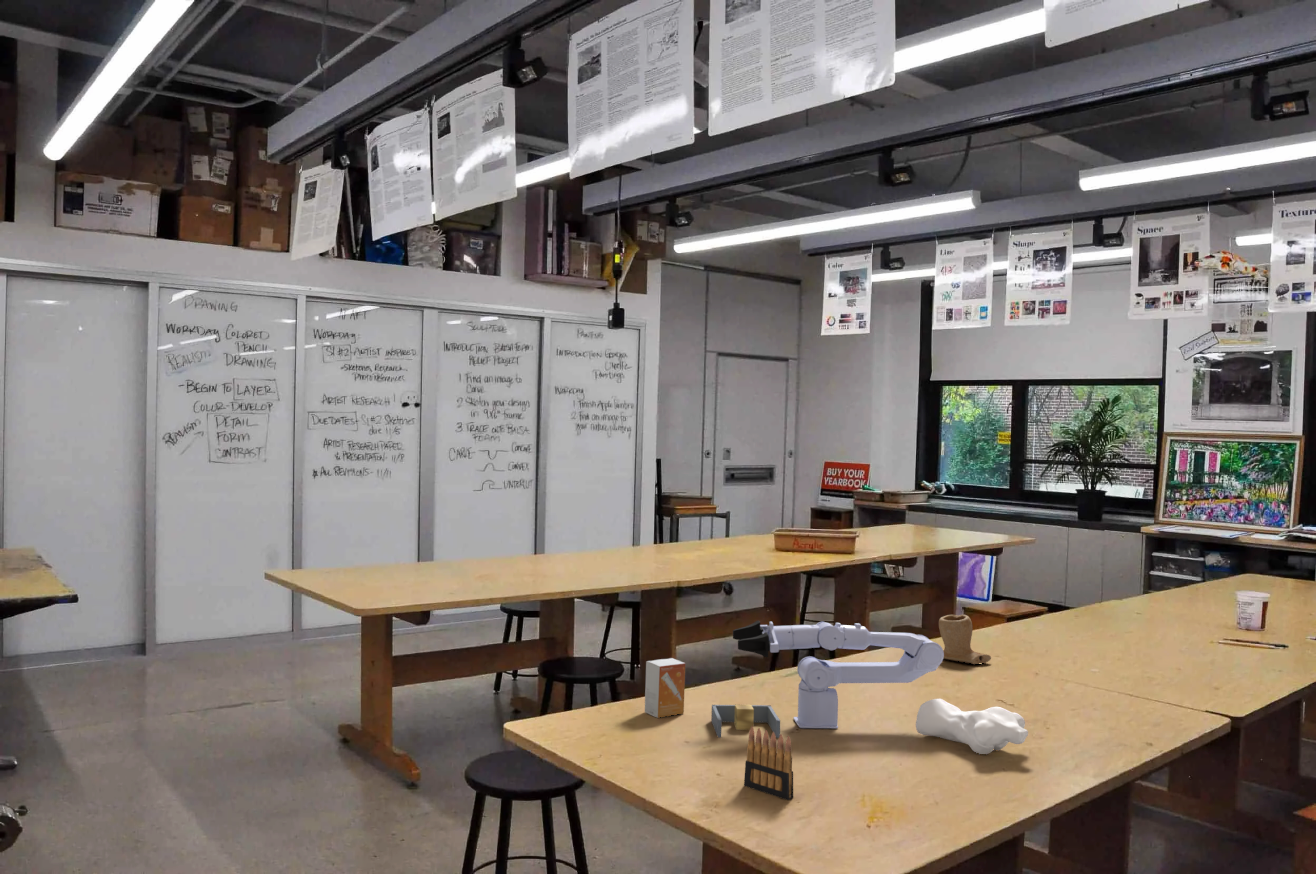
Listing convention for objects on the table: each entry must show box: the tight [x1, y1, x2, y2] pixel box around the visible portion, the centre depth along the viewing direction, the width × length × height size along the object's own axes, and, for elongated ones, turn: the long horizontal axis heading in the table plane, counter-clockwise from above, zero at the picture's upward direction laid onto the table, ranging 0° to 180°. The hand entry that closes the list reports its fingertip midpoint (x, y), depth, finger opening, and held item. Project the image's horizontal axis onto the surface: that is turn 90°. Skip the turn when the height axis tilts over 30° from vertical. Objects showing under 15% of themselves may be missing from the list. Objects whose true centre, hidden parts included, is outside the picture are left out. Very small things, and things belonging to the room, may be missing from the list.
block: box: [733, 704, 754, 731], centre depth 231 cm, size 4×4×5 cm
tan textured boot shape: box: [938, 614, 992, 665], centre depth 308 cm, size 15×12×15 cm
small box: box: [644, 657, 686, 719], centre depth 241 cm, size 8×6×13 cm
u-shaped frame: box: [710, 704, 781, 739], centre depth 230 cm, size 15×13×4 cm
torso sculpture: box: [915, 698, 1029, 755], centre depth 220 cm, size 18×10×25 cm
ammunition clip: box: [743, 725, 794, 801], centre depth 189 cm, size 11×2×12 cm, turn 48°
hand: (735, 639), depth 234 cm, fingers open, 7 cm apart
